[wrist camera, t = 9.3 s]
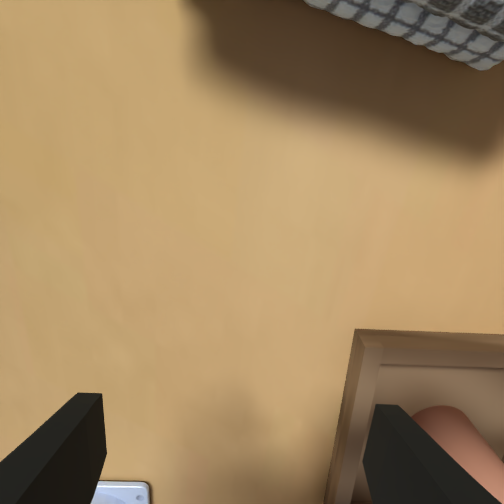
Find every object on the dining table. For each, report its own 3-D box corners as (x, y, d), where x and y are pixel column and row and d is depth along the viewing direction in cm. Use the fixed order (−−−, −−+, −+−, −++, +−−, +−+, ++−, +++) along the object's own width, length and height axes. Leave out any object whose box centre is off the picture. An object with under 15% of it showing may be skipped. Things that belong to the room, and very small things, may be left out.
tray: (488, 504, 26) (506, 531, 24) (323, 502, 26) (329, 529, 24) (555, 336, 21) (582, 355, 20) (355, 328, 21) (365, 347, 19)
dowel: (462, 460, 24) (585, 648, 15) (395, 460, 23) (482, 649, 15) (477, 405, 22) (623, 578, 14) (406, 405, 22) (509, 578, 14)
